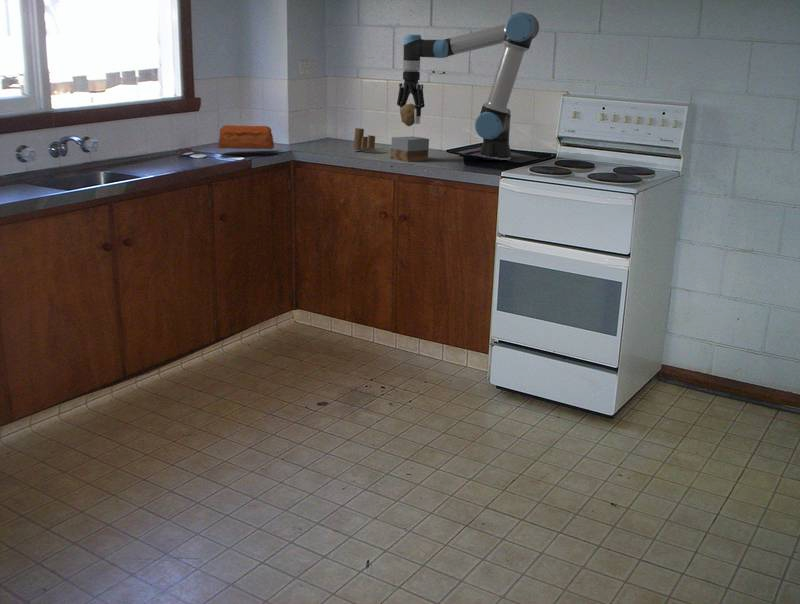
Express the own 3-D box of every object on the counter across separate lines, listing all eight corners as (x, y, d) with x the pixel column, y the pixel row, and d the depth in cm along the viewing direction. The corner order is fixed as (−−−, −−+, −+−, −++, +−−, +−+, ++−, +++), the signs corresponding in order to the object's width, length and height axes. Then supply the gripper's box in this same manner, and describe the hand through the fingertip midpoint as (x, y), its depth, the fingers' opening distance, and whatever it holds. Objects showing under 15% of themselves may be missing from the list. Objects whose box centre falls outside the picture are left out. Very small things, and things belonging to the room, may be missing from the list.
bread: (220, 145, 436) (219, 124, 433) (274, 146, 439) (274, 125, 436) (217, 149, 422) (216, 126, 419) (273, 150, 424) (272, 127, 421)
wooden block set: (377, 152, 423) (379, 131, 421) (360, 151, 420) (362, 129, 418) (365, 149, 440) (367, 128, 437) (349, 148, 436) (351, 127, 434)
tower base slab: (427, 161, 398) (428, 149, 397) (407, 162, 391) (407, 151, 390) (411, 158, 407) (411, 147, 406) (390, 159, 400) (390, 148, 399)
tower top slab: (428, 150, 397) (429, 138, 395) (407, 151, 390) (408, 139, 388) (412, 147, 406) (412, 136, 404) (391, 148, 399) (391, 137, 397)
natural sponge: (416, 125, 400) (417, 103, 397) (422, 127, 392) (423, 104, 389) (397, 125, 398) (398, 102, 395) (403, 127, 389) (404, 104, 387)
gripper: (434, 71, 383) (432, 124, 389) (402, 70, 399) (401, 120, 405) (421, 71, 378) (419, 124, 384) (389, 70, 394) (388, 121, 400)
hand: (410, 122), depth 394 cm, fingers closed on natural sponge, 9 cm apart
